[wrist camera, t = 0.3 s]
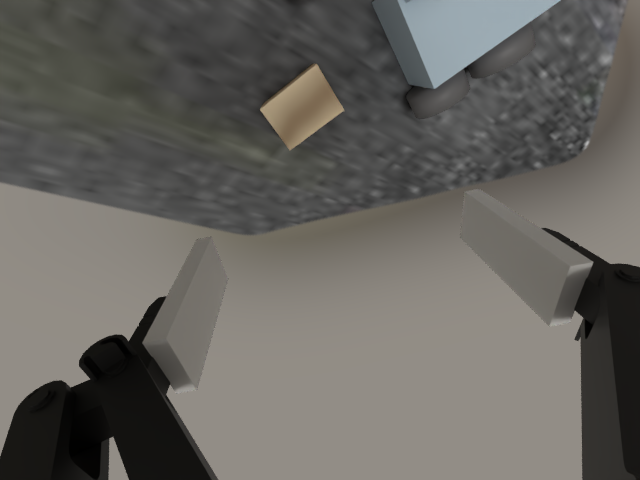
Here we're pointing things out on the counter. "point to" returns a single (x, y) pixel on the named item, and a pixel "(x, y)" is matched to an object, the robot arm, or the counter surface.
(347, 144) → the counter surface
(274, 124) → the block
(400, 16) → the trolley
